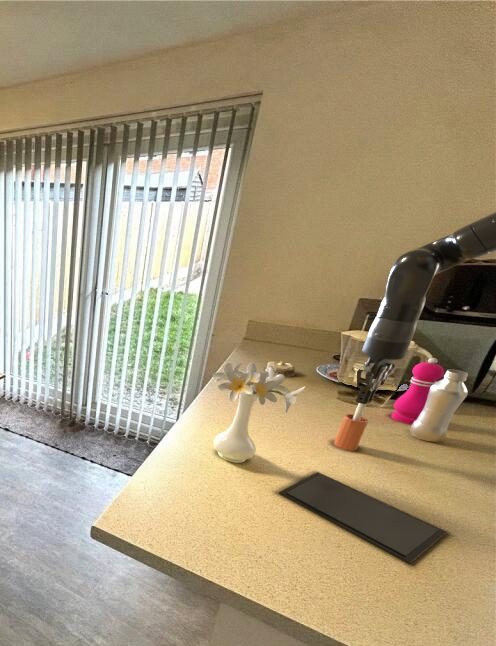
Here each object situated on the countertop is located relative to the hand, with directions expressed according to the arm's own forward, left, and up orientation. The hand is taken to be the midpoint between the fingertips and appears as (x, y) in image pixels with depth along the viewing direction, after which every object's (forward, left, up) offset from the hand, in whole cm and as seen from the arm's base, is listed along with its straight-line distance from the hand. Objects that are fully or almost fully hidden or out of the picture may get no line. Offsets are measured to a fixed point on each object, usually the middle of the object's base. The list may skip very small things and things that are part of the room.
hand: (363, 401), depth 100 cm
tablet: (-14, +28, -14) cm, 34 cm away
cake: (+39, -41, -14) cm, 58 cm away
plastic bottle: (-8, -24, -14) cm, 29 cm away
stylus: (0, 0, -9) cm, 9 cm away
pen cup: (0, 0, -14) cm, 14 cm away
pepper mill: (-1, -33, -14) cm, 36 cm away
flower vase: (+11, +30, -14) cm, 35 cm away
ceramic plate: (+20, -57, -14) cm, 62 cm away
